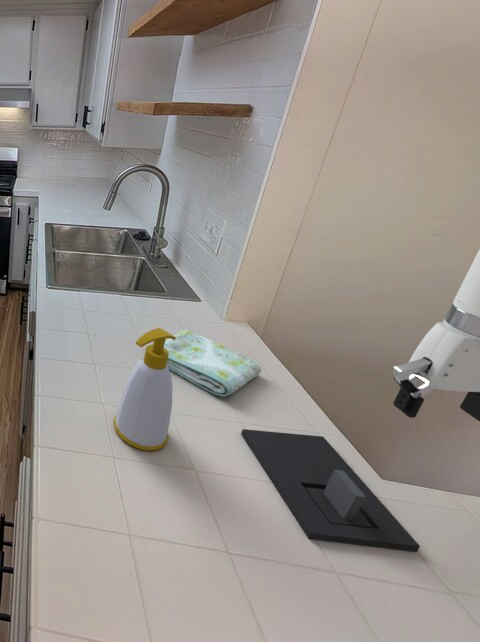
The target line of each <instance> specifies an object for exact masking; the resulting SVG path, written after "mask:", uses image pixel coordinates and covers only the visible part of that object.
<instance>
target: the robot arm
mask: <svg viewBox="0 0 480 642" xmlns="http://www.w3.org/2000/svg"><path fill="white" fill-rule="evenodd" d="M392 373H393V380H394V381H395V383H396V384H397V386H398V387H400V388H399V390H398V393H397V394H396V397H395V399H394V401H393V406H394V407H395V408H396V409H398V410H399V411H401V412H402V413H403V414H404V415H405V416H406V417H408V418H409V419H411V418H413V419H414V418H416V417H417V415H418V413H419V411H420V410H421V407H422V405H423V403H424V402H425V399H424V398H423V396H425V395H426V394H429V393H430V392H432V391H434V390H437V391H448V392H449V391H450V392H467V393H466V395H465V396H464V398H463V400H462V401H461V403H460V405H459V408H460V409H461V410H462V411H464V412H465V413H467V414H468V415H469V416H470V417H472V418H473V419H475V420H476V421H478V422H480V248H479V249H478V251H477V253H476V256H475V257H474V259H473V261H472V263H471V265H470V267H469V269H468V271H467V272H466V275H465V277H464V279H463V281H462V283H461V285H460V287H459V288H458V291H457V293H456V295H455V297H454V299H453V301H452V303H451V304H450V307H449V309H448V311H447V313H446V315H445V317H444V319H443V321H439V322H436V324H434V326H432V327H431V329H429V331H428V332H427V333H426V334H425V336H424V337H423V338H422V340H421V341H420V343H419V344H418V346H417V347H416V348H415V350H414V352H413V354H412V355H411V357H410V359H409V361H408V362H407V363H402V364H399V365H396V366H393V367H392ZM426 376H427V378H428V379H427V378H426ZM418 382H421V383H423V384H422V385H419V386H418V387H416V385H415V384H416V383H418Z"/></svg>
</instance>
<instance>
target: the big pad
mask: <svg viewBox="0 0 480 642" xmlns="http://www.w3.org/2000/svg"><path fill="white" fill-rule="evenodd" d="M240 435H241V436H242V438H243V439H244V441H245V443H246V444H247V446H248V448H249V449H250V450H251V452H252V453H253V456H254V457H255V458H256V460H257V461H258V463H259V464H260V466H261V468H262V469H263V471H264V472H265V473H266V475H267V477H268V478H269V480H270V481H271V483H272V484H273V486H274V488H275V489H276V491H277V493H278V494H279V495H280V497H281V499H282V500H283V501H284V503H285V505H286V506H287V508H288V509H289V511H290V512H291V514H292V516H293V517H294V519H295V520H296V522H297V523H298V525H299V526H300V528H301V529H302V531H303V533H304V534H305V536H306V538H308V540H314V541H323V542H330V543H331V542H332V543H341V544H348V545H356V546H365V547H374V548H381V549H388V550H397V551H405V552H413V553H416V552H417V551H418V550H419V549H420V547H421V546H420V544H419V543H418V542H417V541H416V540H415V539H414V538H413V537H412V535H411V534H410V533H409V532H408V531H407V530H406V529H405V527H403V525H402V524H401V523H400V522H399V520H397V518H396V517H395V516H394V515H393V514H392V513H391V511H389V509H388V508H387V507H386V505H384V504H383V503H382V501H381V500H380V499H379V498H378V497H377V495H375V494H374V492H373V491H372V490H371V489H370V488H369V486H368V485H367V484H366V483H365V482H364V481H363V480H362V479H361V477H360V476H359V475H358V474H357V473H356V472H355V471H354V469H353V468H352V467H351V466H350V465H349V464H348V463H347V462H346V461H345V459H344V458H343V457H342V456H341V455H340V454H339V453H338V452H337V450H336V449H335V448H334V447H333V446H332V445H331V444H330V442H329V441H328V440H327V439H326V438H325V437H324V436H322V435H313V434H312V435H310V434H299V433H288V432H277V431H267V430H257V429H256V430H255V429H245V428H242V430H241V432H240ZM334 470H341V471H344V472H345V473H346V474H347V475H348V476H349V478H350V479H351V480H352V481H353V482H354V483H355V485H356V486H357V487H358V488H359V489H360V490H361V492H362V493H363V494H364V495H365V496H366V499H365V500H364V502H363V504H362V506H361V507H360V509H359V511H360V512H361V513H362V514H363V516H364V517H365V518H366V519H367V521H368V522H369V523H370V524H371V526H372V527H373V528H364V527H356V526H347V525H339V524H330V523H329V522H328V520H327V519H326V517H325V516H324V515H323V513H322V512H321V510H320V509H319V508H318V506H317V505H316V504H315V502H314V501H313V499H312V498H311V497H310V495H309V494H308V492H307V491H306V490H305V487H308V488H317V489H325V488H326V486H327V484H328V482H329V480H330V478H331V476H332V474H333V472H334Z"/></svg>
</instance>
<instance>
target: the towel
mask: <svg viewBox="0 0 480 642" xmlns="http://www.w3.org/2000/svg"><path fill="white" fill-rule="evenodd" d="M173 336H174V337H176V339H175V340H174V339H171V338H166V340H165V344H164V348H165V349H166V350H167V351H168V352H169V356H168V360H167V364H166V365H167V366H168V368H169V370H170V371H172V372H173V373H175V374H177V375H178V376H180V377H182V378H184V379H185V380H187V381H189V382H191V383H192V384H193V385H195V386H197V387H200V388H201V389H203V390H205V391H207V392H209V393H211V394H213V395H216V396H218V397H219V396H220V397H228V396H230V395H232V394H234V393H235V392H236V391H237V390H239V389H241V388H242V387H243V386H244V385H246V384H247V383H248V382H250V381H251V380H253V379H254V378H256V377H257V376H259V375H260V374H261V372H262V367H261V366H260V365H259V364H258V363H257V362H255V361H253V360H252V359H251V358H249V357H248V356H245V355H244V354H242V353H240V352H237V351H235V350H233V349H230V348H228V347H227V346H224V345H222V344H220V343H218V342H215V341H213V340H211V339H209V338H208V337H207V338H206V337H204V336H202V335H200V334H198V333H195V332H194V331H193V332H192V331H191V330H187V329H182V330H181V331H178V332H177V333H176V334H174V335H173Z"/></svg>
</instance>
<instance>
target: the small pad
mask: <svg viewBox="0 0 480 642" xmlns="http://www.w3.org/2000/svg"><path fill="white" fill-rule="evenodd" d="M305 490H306V491H307V492H308V494H309V495H310V497H311V498H312V499H313V501H314V502H315V504H316V505H317V506H318V508H319V509H320V510H321V512H322V513H323V515H324V516H325V517H326V519H327V520H328V522H329V523H330V524H339V525H347V526H356V527H364V528H373V527H372V526H371V524H370V523H369V522H368V521H367V519H366V518H365V517H364V516H363V514H362V513H361V512H360V511H359V509H360V507H361V506H362V504H363V502H364V500H365V499H366V496H365V495H364V494H363V493H362V492H361V490H360V489H359V488H358V487H357V486H356V485H355V483H354V482H353V481H352V480H351V479H350V478H349V476H348V475H347V474H346V473H345V472H344V471H341V470H334V472H333V474H332V476H331V478H330V480H329V482H328V484H327V486H326V488H325V489H317V488H308V487H305Z"/></svg>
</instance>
